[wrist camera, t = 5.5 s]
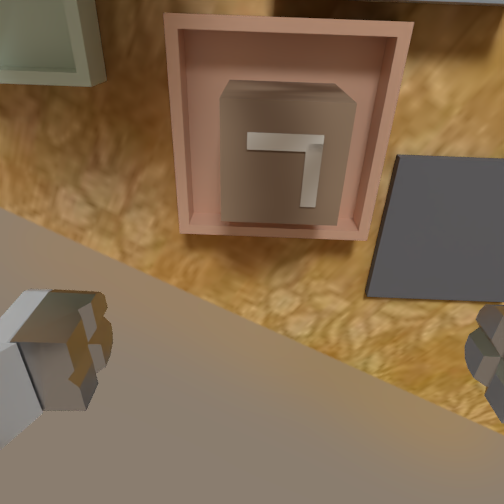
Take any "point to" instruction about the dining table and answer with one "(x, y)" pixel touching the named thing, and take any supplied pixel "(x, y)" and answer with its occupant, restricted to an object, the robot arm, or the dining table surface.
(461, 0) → the dish slate
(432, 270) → the charcoal mat
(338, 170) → the letter cube
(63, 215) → the dining table surface
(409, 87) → the dining table surface
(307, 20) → the dish terracotta
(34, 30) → the dish sage
